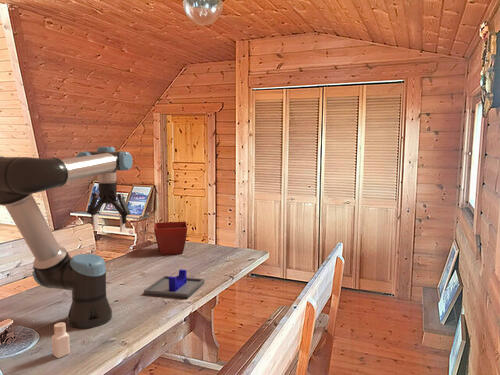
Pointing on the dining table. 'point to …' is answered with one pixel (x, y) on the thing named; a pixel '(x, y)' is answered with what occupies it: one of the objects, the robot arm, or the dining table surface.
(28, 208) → the robot arm
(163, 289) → the tray
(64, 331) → the salt shaker
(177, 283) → the cable clip
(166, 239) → the plant pot
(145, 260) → the dining table surface
